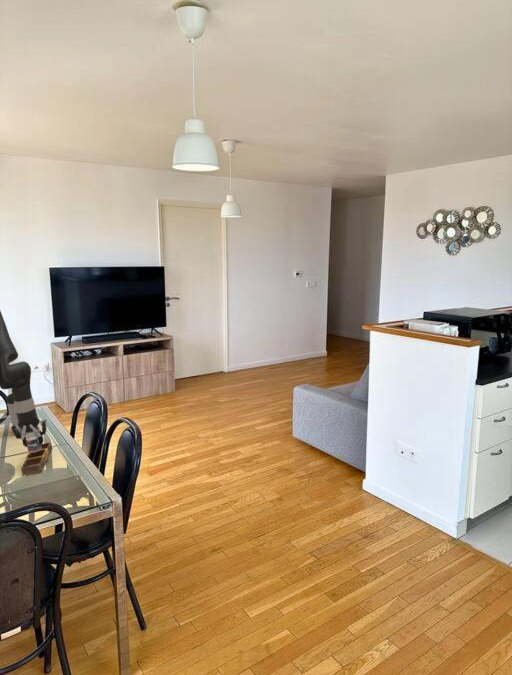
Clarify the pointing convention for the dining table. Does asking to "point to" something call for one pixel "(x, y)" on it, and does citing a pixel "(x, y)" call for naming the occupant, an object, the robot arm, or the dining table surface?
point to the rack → (36, 460)
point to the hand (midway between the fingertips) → (33, 444)
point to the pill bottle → (32, 442)
